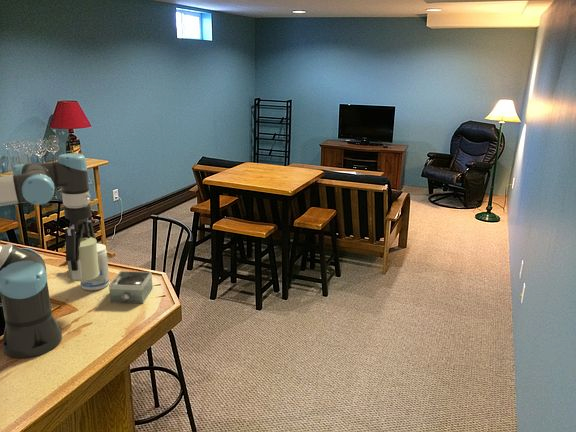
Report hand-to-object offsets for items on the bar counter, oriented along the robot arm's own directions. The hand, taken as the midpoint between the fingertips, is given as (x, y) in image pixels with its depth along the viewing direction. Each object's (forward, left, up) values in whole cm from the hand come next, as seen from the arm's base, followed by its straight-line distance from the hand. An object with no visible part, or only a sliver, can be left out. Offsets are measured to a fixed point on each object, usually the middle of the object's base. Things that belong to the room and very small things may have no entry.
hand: (83, 272), depth 152 cm
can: (0, 0, -1) cm, 1 cm away
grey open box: (+11, -11, -13) cm, 20 cm away
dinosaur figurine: (+28, +16, -14) cm, 35 cm away
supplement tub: (+17, +5, -14) cm, 22 cm away
